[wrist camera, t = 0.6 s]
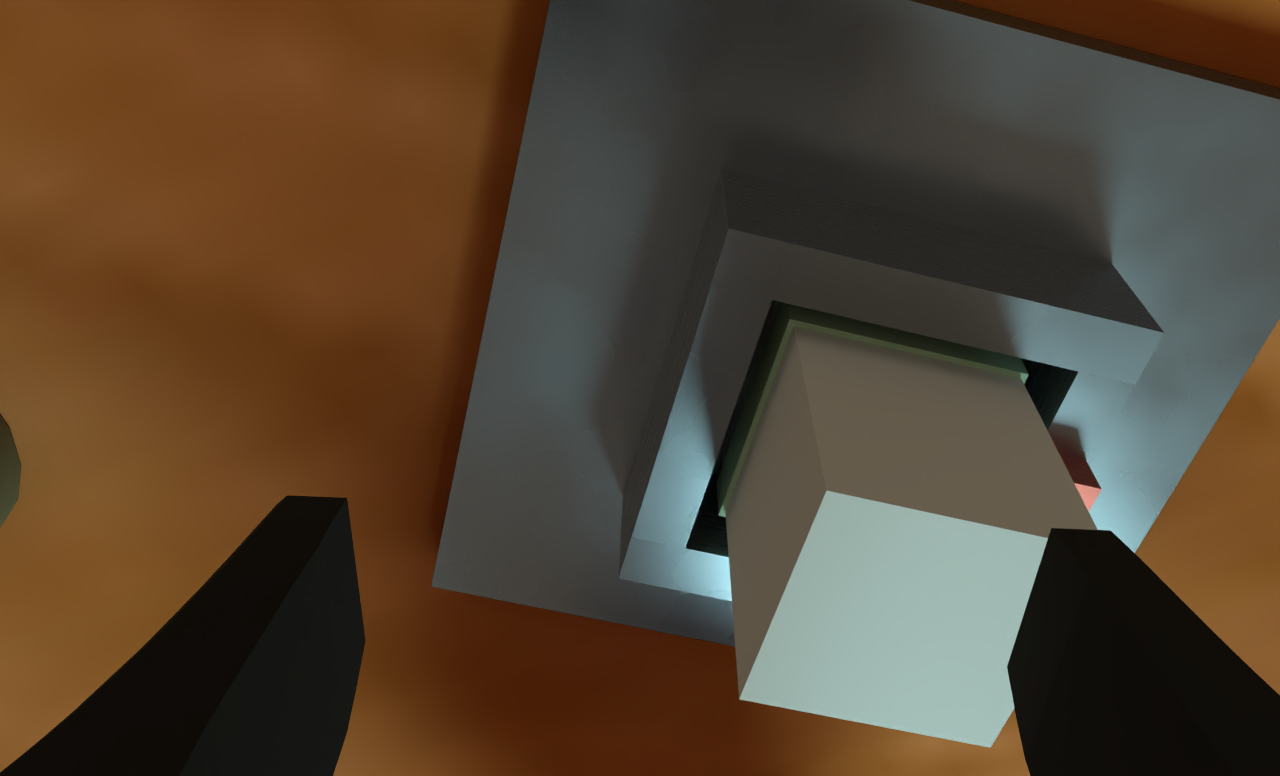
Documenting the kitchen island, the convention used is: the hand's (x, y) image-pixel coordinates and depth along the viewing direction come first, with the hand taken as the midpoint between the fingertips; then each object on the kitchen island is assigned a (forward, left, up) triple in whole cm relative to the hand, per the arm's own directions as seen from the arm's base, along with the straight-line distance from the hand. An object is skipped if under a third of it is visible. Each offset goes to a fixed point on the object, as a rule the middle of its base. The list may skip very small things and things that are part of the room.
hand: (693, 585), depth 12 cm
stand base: (-3, -4, -11) cm, 12 cm away
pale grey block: (-3, -4, -10) cm, 11 cm away
